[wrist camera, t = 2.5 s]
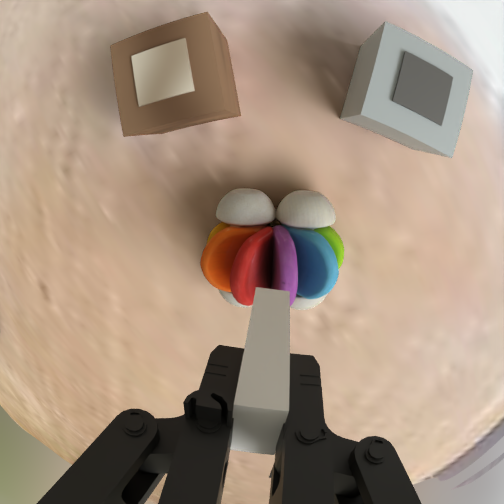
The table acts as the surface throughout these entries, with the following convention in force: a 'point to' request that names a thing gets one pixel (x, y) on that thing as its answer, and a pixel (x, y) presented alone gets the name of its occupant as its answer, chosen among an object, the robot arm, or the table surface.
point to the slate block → (408, 91)
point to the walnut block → (174, 77)
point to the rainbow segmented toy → (273, 247)
